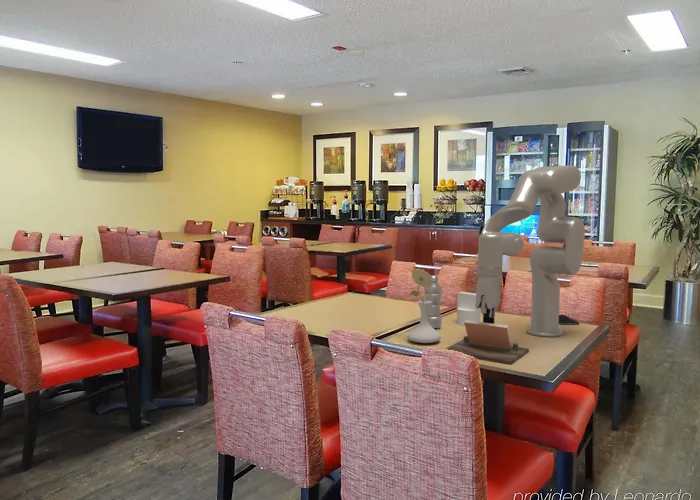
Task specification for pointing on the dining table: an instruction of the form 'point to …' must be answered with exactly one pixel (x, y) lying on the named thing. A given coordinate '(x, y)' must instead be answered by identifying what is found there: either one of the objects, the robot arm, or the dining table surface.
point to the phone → (567, 320)
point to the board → (489, 351)
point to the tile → (488, 334)
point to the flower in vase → (423, 311)
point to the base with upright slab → (467, 308)
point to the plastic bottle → (434, 302)
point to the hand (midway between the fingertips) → (488, 329)
